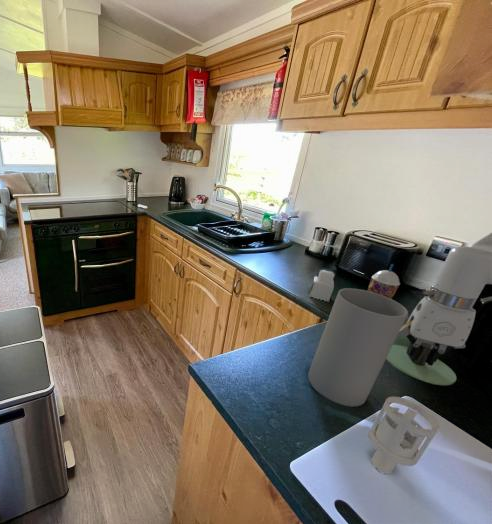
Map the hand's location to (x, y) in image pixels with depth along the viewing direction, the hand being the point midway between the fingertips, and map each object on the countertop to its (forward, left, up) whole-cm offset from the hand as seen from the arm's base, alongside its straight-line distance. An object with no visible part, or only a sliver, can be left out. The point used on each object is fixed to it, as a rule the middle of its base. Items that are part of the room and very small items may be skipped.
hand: (419, 359), depth 75 cm
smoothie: (-1, -40, -7) cm, 41 cm away
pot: (-3, -16, -7) cm, 17 cm away
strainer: (+14, +33, -7) cm, 37 cm away
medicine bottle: (+17, -43, -7) cm, 47 cm away
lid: (0, 0, -2) cm, 2 cm away
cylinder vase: (+19, +14, -7) cm, 25 cm away
